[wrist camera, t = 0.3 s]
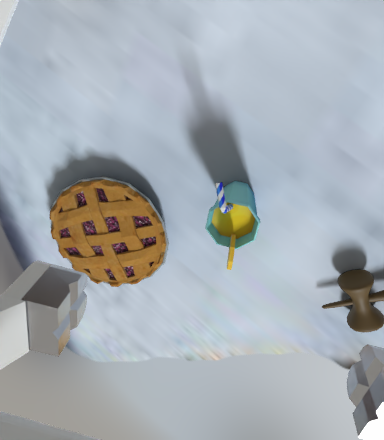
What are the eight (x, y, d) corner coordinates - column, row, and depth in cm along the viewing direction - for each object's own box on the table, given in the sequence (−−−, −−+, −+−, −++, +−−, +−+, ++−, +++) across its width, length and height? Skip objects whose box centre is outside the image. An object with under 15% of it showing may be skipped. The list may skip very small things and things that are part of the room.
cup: (205, 153, 57) (186, 189, 44) (254, 145, 55) (250, 180, 42) (221, 230, 63) (209, 282, 50) (266, 225, 61) (266, 278, 48)
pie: (189, 263, 68) (183, 279, 63) (91, 283, 75) (80, 299, 70) (143, 155, 60) (134, 165, 55) (38, 189, 66) (22, 200, 62)
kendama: (446, 295, 62) (325, 317, 67) (439, 248, 58) (313, 275, 64) (463, 319, 56) (331, 340, 62) (457, 268, 53) (318, 295, 59)
